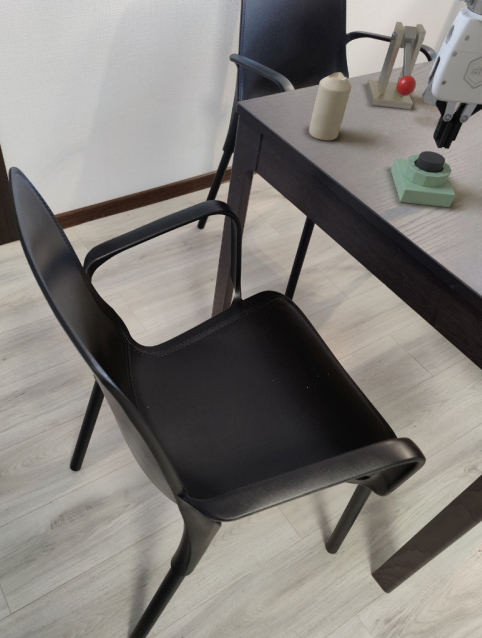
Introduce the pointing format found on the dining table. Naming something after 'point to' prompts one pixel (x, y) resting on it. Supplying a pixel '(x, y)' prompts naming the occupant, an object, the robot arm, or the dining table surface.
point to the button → (430, 162)
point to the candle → (330, 106)
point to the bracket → (382, 89)
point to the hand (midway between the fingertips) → (441, 144)
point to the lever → (407, 62)
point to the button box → (422, 183)
